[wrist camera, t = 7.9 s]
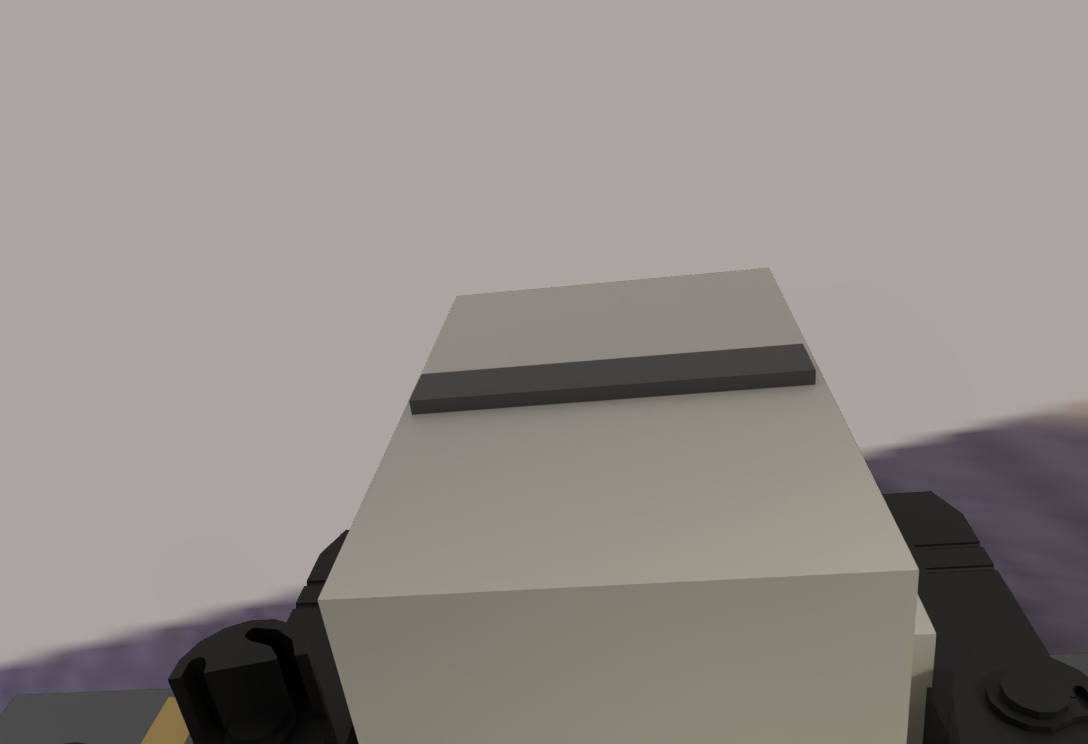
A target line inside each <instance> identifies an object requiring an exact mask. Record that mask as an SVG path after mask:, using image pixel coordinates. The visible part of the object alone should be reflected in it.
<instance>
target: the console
mask: <svg viewBox="0 0 1088 744" xmlns="http://www.w3.org/2000/svg"><path fill="white" fill-rule="evenodd" d="M1049 655H1050V656H1051V657H1052V658H1054V659H1056V660H1058V661H1061V662H1063V663H1065V664H1067V665H1069V666H1071V667H1074V668H1076V669H1078V670H1080V671H1081V672H1082V673H1084V674H1085V675H1086V676H1088V653H1074V654H1049ZM71 742H80V743H85V744H193V741H192V739H191V736H190V734H189V731H188V729H187V726H186V724H185V721H184V719H183V716H182V714H181V711H180V709H179V706H178V704H177V701H176V699H175V696H174V694H173V691H172V689H156V690H130V691H105V692H79V693H54V694H28V695H16V696H15V697H14V699H13V700H12V701H11V702H10V704H9V705H8V706H7V707H6V709H5V710H4V711H3V712H2V714H1V715H0V744H64V743H71Z"/></svg>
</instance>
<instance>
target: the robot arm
mask: <svg viewBox="0 0 1088 744" xmlns="http://www.w3.org/2000/svg"><path fill="white" fill-rule="evenodd" d="M882 496H883V498H884V500H885V502H886V504H887V506H888V508H889V510H890V512H891V514H892V516H893V518H894V520H895V522H896V524H897V526H898V528H899V530H900V532H901V534H902V536H903V538H904V540H905V542H906V544H907V546H908V548H909V550H910V552H911V554H912V556H913V558H914V561H915V563H916V565H917V567H918V569H919V578H918V592H917V606H916V619H915V633H914V647H913V661H912V675H911V688H910V702H909V716H908V730H907V744H1088V676H1086V675H1085V674H1084V673H1082V672H1081V671H1080V670H1078V669H1076V668H1074V667H1071V666H1069V665H1067V664H1065V663H1063V662H1061V661H1058V660H1056V659H1054V658H1052V657H1051V656H1050V655H1049V653H1048V652H1047V650H1046V648H1045V647H1044V645H1043V643H1042V642H1041V640H1040V639H1039V637H1038V635H1037V634H1036V632H1035V631H1034V629H1033V627H1032V626H1031V624H1030V622H1029V621H1028V619H1027V618H1026V616H1025V614H1024V613H1023V611H1022V609H1021V608H1020V606H1019V605H1018V603H1017V601H1016V600H1015V598H1014V596H1013V595H1012V593H1011V592H1010V590H1009V588H1008V587H1007V585H1006V584H1005V582H1004V580H1003V579H1002V577H1001V575H1000V574H999V572H998V571H997V570H994V564H993V562H992V561H991V559H990V558H989V556H988V554H987V553H986V551H985V550H984V548H983V547H980V541H979V540H978V538H977V537H976V535H975V533H974V532H973V530H972V528H971V527H970V525H969V524H968V522H967V520H966V519H965V517H964V516H963V514H962V513H961V512H959V511H958V510H956V509H955V508H954V507H952V506H951V505H949V504H948V503H946V502H945V501H944V500H942V499H941V498H939V497H938V496H937V495H935V494H934V493H932V492H931V491H927V492H911V493H895V494H882ZM348 532H349V530H345V531H344V532H343V533H342V534H341V535H340V536H339V537H338V538H337V539H336V540H335V541H334V542H333V543H332V544H330V545H329V546H328V547H327V548H326V549H325V550H324V551H323V552H322V553H321V554H320V555H319V557H318V559H317V561H316V563H315V566H314V567H313V570H312V571H311V574H310V576H309V578H308V580H307V586H304V588H303V590H302V592H301V594H300V596H299V598H298V600H297V602H296V609H293V610H292V612H291V614H290V617H289V619H288V621H287V623H286V622H282V621H278V620H275V619H271V620H253V621H247V622H244V623H241V624H237V625H234V626H231V627H228V628H224V629H222V630H221V631H219V632H217V633H215V634H213V635H212V636H210V637H208V638H206V639H204V640H203V641H201V642H199V643H198V644H197V645H196V646H195V647H194V648H192V649H191V650H190V651H189V652H188V653H187V654H186V655H185V656H184V657H182V658H181V659H180V660H179V662H178V664H177V665H176V667H175V669H174V670H173V672H172V674H171V675H170V677H169V679H168V681H169V684H170V686H171V689H172V691H173V694H174V696H175V699H176V701H177V704H178V706H179V709H180V711H181V714H182V716H183V719H184V721H185V724H186V726H187V729H188V731H189V734H190V736H191V739H192V741H193V744H359V743H358V740H357V736H356V733H355V729H354V726H353V722H352V719H351V715H350V712H349V708H348V705H347V701H346V698H345V694H344V691H343V687H342V684H341V680H340V677H339V673H338V670H337V667H336V663H335V660H334V656H333V653H332V649H331V646H330V642H329V639H328V635H327V632H326V628H325V625H324V621H323V618H322V614H321V611H320V607H319V604H318V598H319V596H320V593H321V591H322V589H323V587H324V585H325V583H326V580H327V578H328V576H329V574H330V572H331V569H332V567H333V565H334V563H335V561H336V558H337V556H338V554H339V552H340V550H341V548H342V545H343V543H344V541H345V539H346V537H347V534H348ZM64 744H85V743H80V742H71V743H64Z"/></svg>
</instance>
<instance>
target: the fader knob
mask: <svg viewBox="0 0 1088 744" xmlns="http://www.w3.org/2000/svg"><path fill="white" fill-rule="evenodd" d="M918 578H919V569H918V567H917V565H916V563H915V561H914V558H913V556H912V554H911V552H910V550H909V548H908V546H907V544H906V542H905V540H904V538H903V536H902V534H901V532H900V530H899V528H898V526H897V524H896V522H895V520H894V518H893V516H892V514H891V512H890V510H889V508H888V506H887V504H886V502H885V500H884V498H883V496H882V494H881V492H880V490H879V488H878V486H877V484H876V482H875V480H874V478H873V476H872V474H871V472H870V470H869V468H868V466H867V464H866V462H865V460H864V458H863V456H862V454H861V452H860V450H859V448H858V446H857V444H856V442H855V440H854V438H853V436H852V434H851V432H850V430H849V428H848V426H847V424H846V422H845V420H844V418H843V416H842V414H841V412H840V409H839V407H838V405H837V403H836V401H835V399H834V397H833V396H832V393H831V391H830V389H829V387H828V385H827V383H826V381H825V379H824V377H823V375H822V373H821V371H820V369H819V367H818V365H817V363H816V361H815V359H814V357H813V355H812V353H811V351H810V349H809V347H808V345H807V343H806V341H805V339H804V337H803V336H802V333H801V331H800V329H799V327H798V325H797V323H796V321H795V319H794V317H793V315H792V313H791V311H790V309H789V307H788V305H787V303H786V301H785V299H784V297H783V295H782V293H781V291H780V289H779V287H778V285H777V283H776V281H775V279H774V277H773V275H772V273H771V271H770V269H769V268H762V269H751V270H740V271H729V272H717V273H706V274H695V275H684V276H673V277H662V278H651V279H640V280H629V281H618V282H606V283H596V284H584V285H574V286H562V287H551V288H540V289H529V290H518V291H507V292H496V293H485V294H473V295H462V296H456V298H455V301H454V303H453V305H452V307H451V309H450V311H449V314H448V316H447V318H446V320H445V323H444V325H443V327H442V329H441V331H440V334H439V336H438V338H437V340H436V342H435V344H434V347H433V349H432V351H431V353H430V355H429V357H428V360H427V362H426V364H425V366H424V369H423V371H422V373H421V375H420V377H419V379H418V381H417V384H416V386H415V388H414V390H413V392H412V395H411V397H410V399H409V401H408V403H407V405H406V408H405V410H404V412H403V414H402V417H401V419H400V421H399V423H398V425H397V427H396V430H395V432H394V434H393V436H392V438H391V440H390V443H389V445H388V447H387V449H386V452H385V454H384V456H383V458H382V460H381V462H380V465H379V467H378V469H377V471H376V473H375V475H374V478H373V480H372V482H371V484H370V486H369V489H368V491H367V493H366V495H365V498H364V500H363V502H362V504H361V506H360V509H359V510H358V513H357V515H356V517H355V519H354V521H353V524H352V526H351V528H350V530H349V532H348V534H347V537H346V539H345V541H344V543H343V545H342V548H341V550H340V552H339V554H338V556H337V558H336V561H335V563H334V565H333V567H332V569H331V572H330V574H329V576H328V578H327V580H326V583H325V585H324V587H323V589H322V591H321V593H320V596H319V598H318V604H319V607H320V611H321V614H322V618H323V621H324V625H325V628H326V632H327V635H328V639H329V642H330V646H331V649H332V653H333V656H334V660H335V663H336V667H337V670H338V673H339V677H340V680H341V684H342V687H343V691H344V694H345V698H346V701H347V705H348V708H349V712H350V715H351V719H352V722H353V726H354V729H355V733H356V736H357V740H358V743H359V744H907V730H908V716H909V702H910V688H911V675H912V661H913V647H914V633H915V619H916V606H917V592H918Z"/></svg>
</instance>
